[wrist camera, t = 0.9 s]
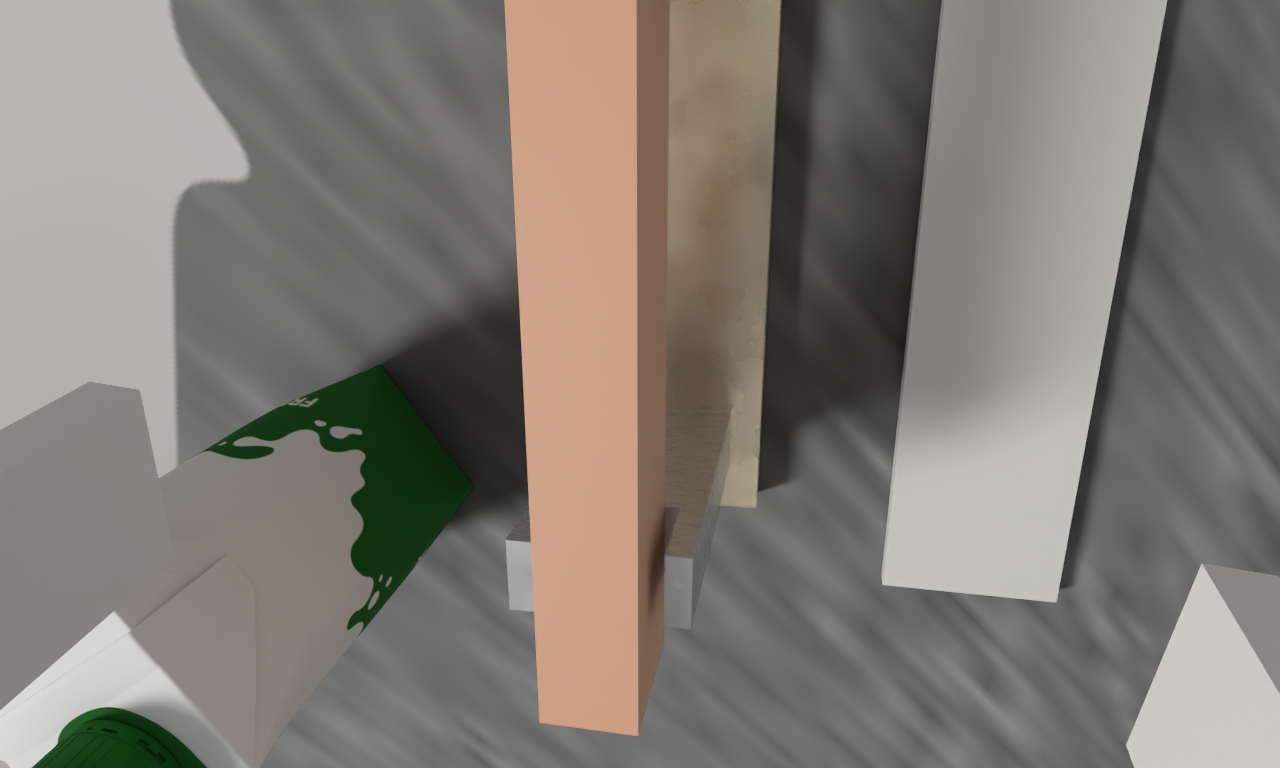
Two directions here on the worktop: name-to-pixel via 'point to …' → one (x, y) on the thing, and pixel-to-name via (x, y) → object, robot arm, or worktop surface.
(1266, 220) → the worktop surface
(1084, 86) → the mat
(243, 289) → the worktop surface
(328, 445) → the milk carton
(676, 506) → the hook stand
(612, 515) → the rail
